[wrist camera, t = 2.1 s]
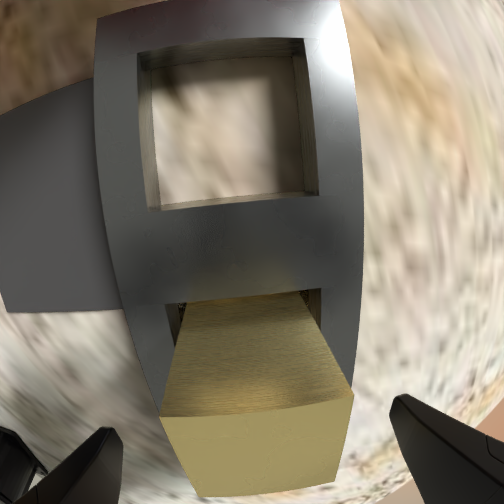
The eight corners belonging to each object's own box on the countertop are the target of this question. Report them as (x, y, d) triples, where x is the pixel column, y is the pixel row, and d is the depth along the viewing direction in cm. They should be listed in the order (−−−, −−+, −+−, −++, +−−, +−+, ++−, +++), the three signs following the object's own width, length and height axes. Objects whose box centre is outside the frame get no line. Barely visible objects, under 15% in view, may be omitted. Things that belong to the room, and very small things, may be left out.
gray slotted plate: (333, 407, 15) (343, 431, 13) (179, 424, 15) (175, 449, 13) (323, 17, 9) (338, -3, 7) (114, 36, 9) (97, 18, 7)
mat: (173, 301, 12) (172, 305, 12) (10, 309, 12) (7, 312, 12) (147, 67, 10) (144, 64, 9) (-20, 129, 9) (-24, 129, 9)
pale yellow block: (295, 365, 14) (334, 481, 7) (205, 375, 14) (198, 497, 7) (294, 283, 13) (354, 394, 6) (189, 294, 12) (158, 416, 6)
